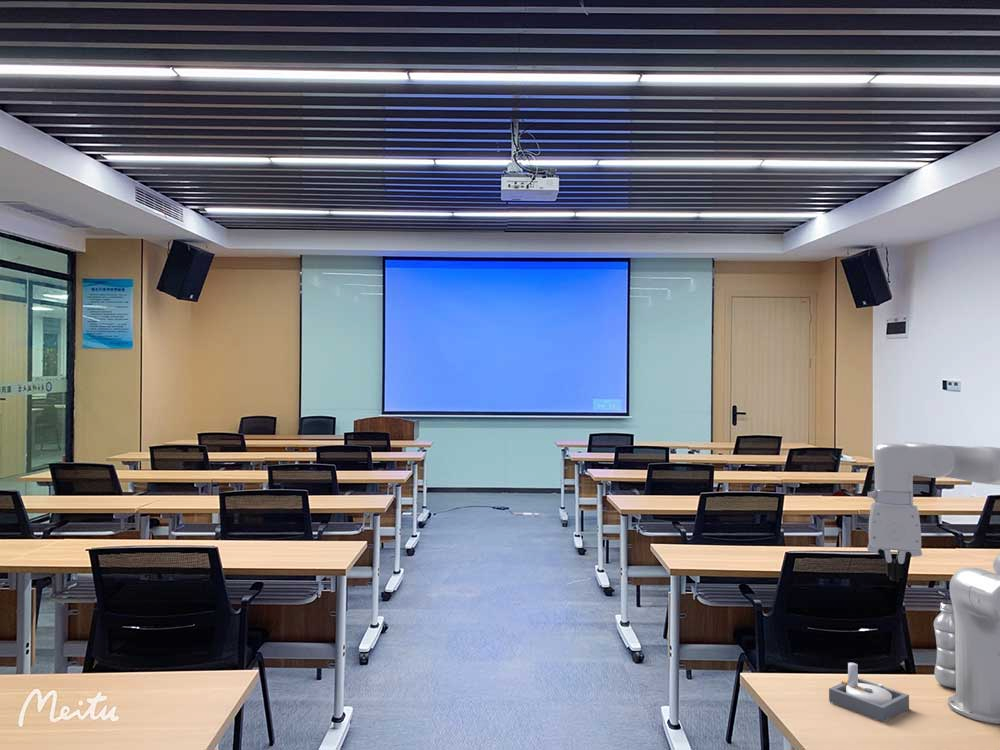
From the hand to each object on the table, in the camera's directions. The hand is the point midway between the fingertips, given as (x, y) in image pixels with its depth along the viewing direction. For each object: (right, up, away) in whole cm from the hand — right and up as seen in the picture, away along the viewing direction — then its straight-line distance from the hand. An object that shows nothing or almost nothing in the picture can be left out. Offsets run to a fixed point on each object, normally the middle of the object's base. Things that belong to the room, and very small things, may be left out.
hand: (894, 579), depth 152 cm
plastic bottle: (+21, -30, +13) cm, 39 cm away
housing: (-5, -29, +2) cm, 30 cm away
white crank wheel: (-5, -28, +2) cm, 28 cm away
